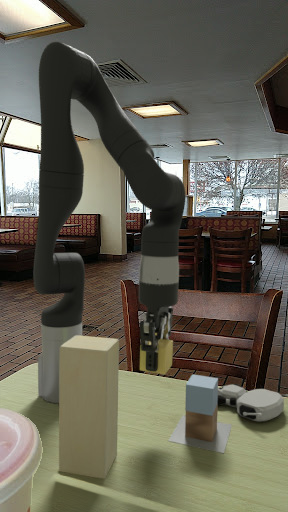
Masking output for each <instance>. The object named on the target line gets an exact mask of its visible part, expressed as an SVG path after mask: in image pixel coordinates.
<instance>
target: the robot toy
mask: <svg viewBox="0 0 288 512" xmlns="http://www.w3.org/2000/svg"><path fill="white" fill-rule="evenodd" d="M284 397H288V394H280V392H277V391H272V390H268V389H265V388H256V389H251V390H249V391H248V390H246V389H245V388H244V387H243V386H242V385H240V384H239V383H233V384H232V383H231V384H227V385H223V386H221V387H218V400H217V404H218V406H223V405H226V406H230V407H232V408H236V412H237V414H239V415H240V417H242V418H244V419H245V418H246V419H248V420H251V421H253V422H267V421H270V420H272V419H274V418H276V417H278V416H279V415H280V414H282V412H283V411H284V409H285V406H284V405H285V403H284Z"/></svg>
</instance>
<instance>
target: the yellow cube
mask: <svg viewBox="0 0 288 512" xmlns="http://www.w3.org/2000/svg"><path fill="white" fill-rule="evenodd" d="M155 341H156V340H155ZM149 345H151V342H149ZM173 345H174V340H172V339H168V340H166V339H162V340H160V343H159V351H158V369H157V371H156V372H153V371H147V370H146V351H141V344H140V347H139V350H140V351H139V371H143V372H148V373H153V374H159V375H166V374H167V372H168V371H169V370H170V368H171V367H172V365H173V352H174V351H173V350H174V349H173V348H174V346H173Z"/></svg>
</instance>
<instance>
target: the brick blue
mask: <svg viewBox="0 0 288 512" xmlns="http://www.w3.org/2000/svg"><path fill="white" fill-rule="evenodd" d="M185 383H186V384H185V405H184V406H185V407H184V409H185V412H186V411H190V412H195V413H200V414H206V415H211V416H213V413H214V411H215V408H216V406H217V400H218V388H219V378H218V377H212V376H206V375H199V374H192V375H191V376H190V378H189V379H188V381H187V382H185Z"/></svg>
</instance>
